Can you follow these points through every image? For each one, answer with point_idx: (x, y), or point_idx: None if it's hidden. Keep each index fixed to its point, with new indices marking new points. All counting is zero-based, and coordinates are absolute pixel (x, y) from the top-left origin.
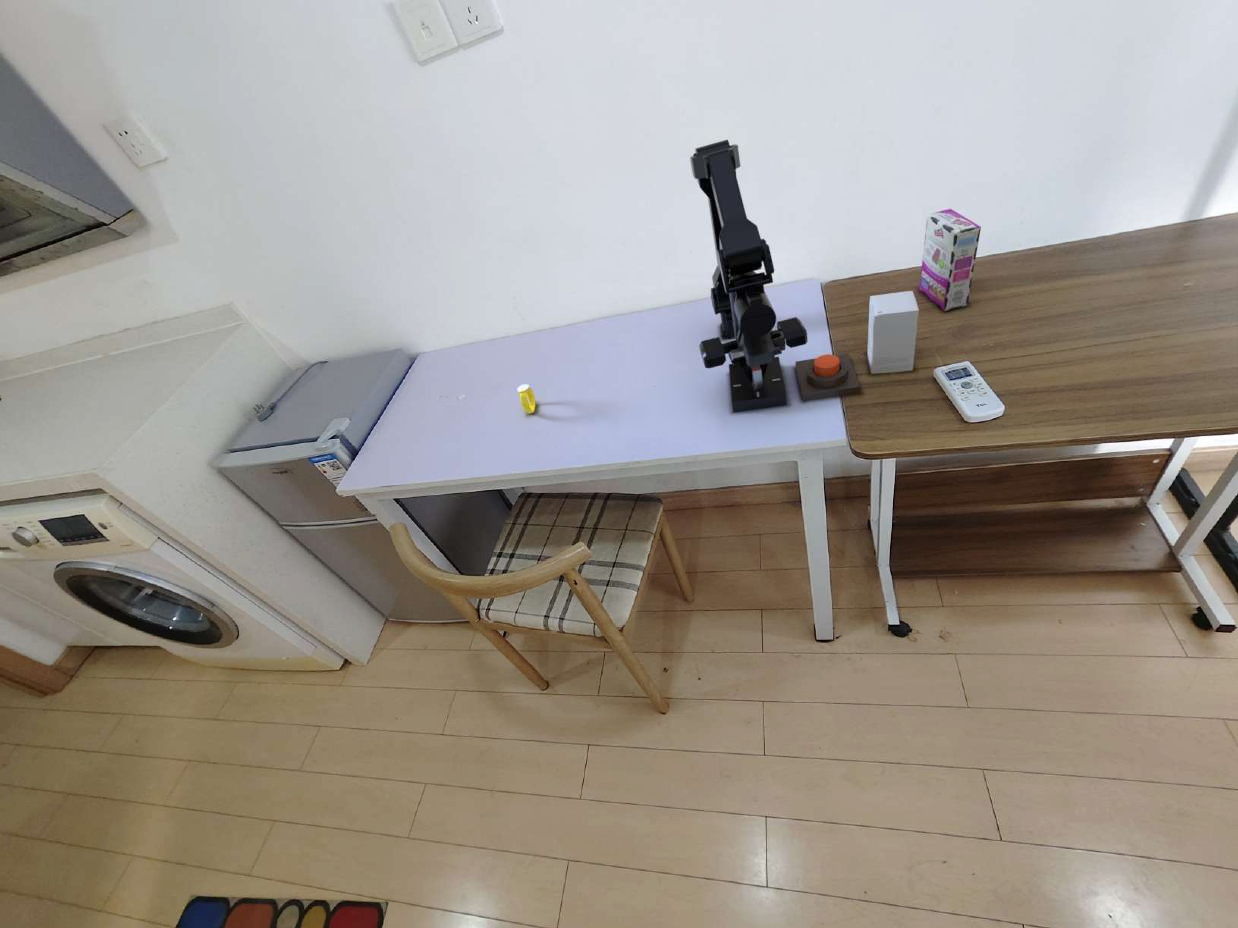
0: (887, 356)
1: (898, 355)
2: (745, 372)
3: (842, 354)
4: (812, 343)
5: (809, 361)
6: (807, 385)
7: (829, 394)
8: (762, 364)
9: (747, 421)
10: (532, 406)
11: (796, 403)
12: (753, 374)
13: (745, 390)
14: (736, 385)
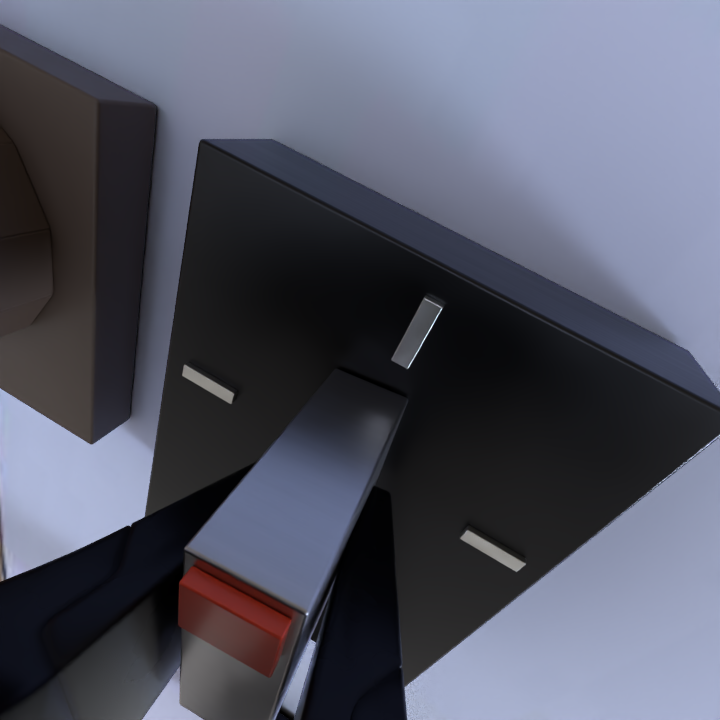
0: None
1: None
2: (397, 654)
3: None
4: (49, 485)
5: (30, 393)
6: (56, 195)
7: None
8: (132, 599)
9: (695, 139)
10: None
11: (204, 118)
12: (328, 556)
13: (475, 460)
14: (497, 555)
